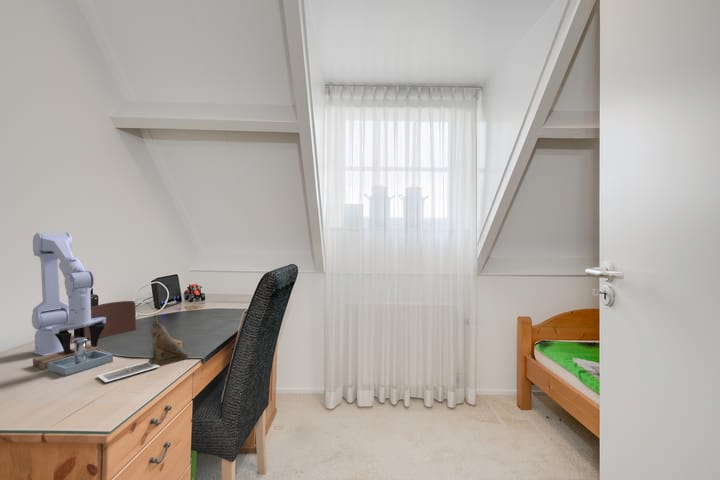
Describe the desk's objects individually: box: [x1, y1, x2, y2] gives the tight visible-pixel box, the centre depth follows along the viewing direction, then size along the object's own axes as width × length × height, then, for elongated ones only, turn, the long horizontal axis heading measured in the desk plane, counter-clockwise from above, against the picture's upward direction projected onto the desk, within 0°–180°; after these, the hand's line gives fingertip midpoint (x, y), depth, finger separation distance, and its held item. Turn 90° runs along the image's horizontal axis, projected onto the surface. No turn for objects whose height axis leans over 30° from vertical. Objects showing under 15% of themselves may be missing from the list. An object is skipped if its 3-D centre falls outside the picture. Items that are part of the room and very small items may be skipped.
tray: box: [47, 350, 114, 377], centre depth 116 cm, size 11×14×2 cm
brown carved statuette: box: [148, 315, 189, 366], centre depth 120 cm, size 12×6×18 cm, turn 126°
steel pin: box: [71, 337, 89, 365], centre depth 117 cm, size 4×4×8 cm
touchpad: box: [96, 360, 161, 383], centre depth 111 cm, size 8×15×2 cm, turn 143°
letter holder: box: [73, 300, 137, 342], centre depth 153 cm, size 10×20×14 cm, turn 149°
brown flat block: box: [32, 344, 101, 371], centre depth 122 cm, size 8×16×2 cm, turn 154°
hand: (81, 349), depth 116 cm, fingers open, 7 cm apart
